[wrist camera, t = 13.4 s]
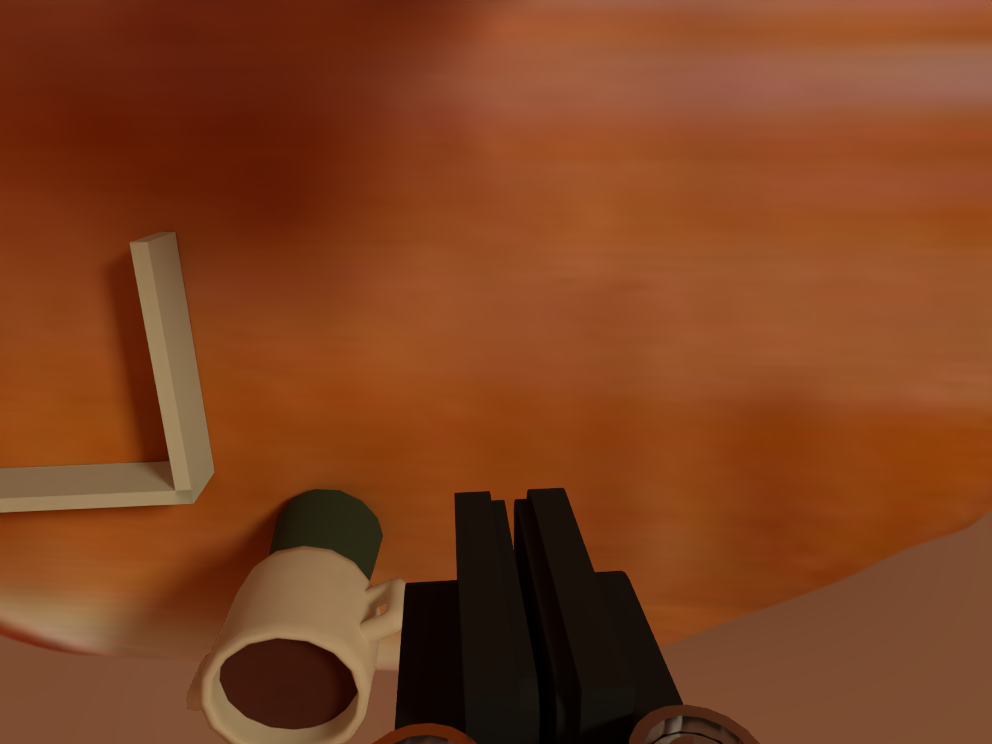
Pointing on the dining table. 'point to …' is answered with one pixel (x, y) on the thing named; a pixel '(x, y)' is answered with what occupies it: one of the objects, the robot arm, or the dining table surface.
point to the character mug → (302, 630)
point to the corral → (177, 405)
